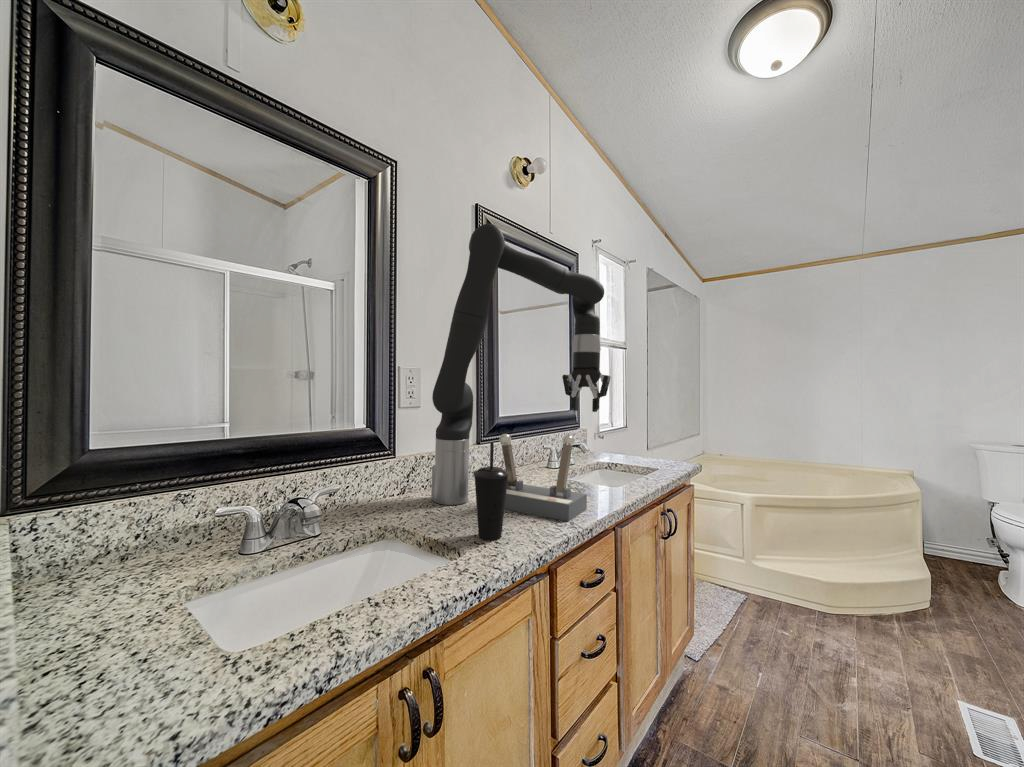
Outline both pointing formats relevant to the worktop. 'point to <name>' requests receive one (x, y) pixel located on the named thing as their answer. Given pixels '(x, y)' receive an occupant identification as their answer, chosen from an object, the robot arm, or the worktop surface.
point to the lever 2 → (564, 463)
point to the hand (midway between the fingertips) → (585, 410)
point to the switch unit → (545, 501)
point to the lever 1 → (508, 458)
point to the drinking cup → (490, 499)
